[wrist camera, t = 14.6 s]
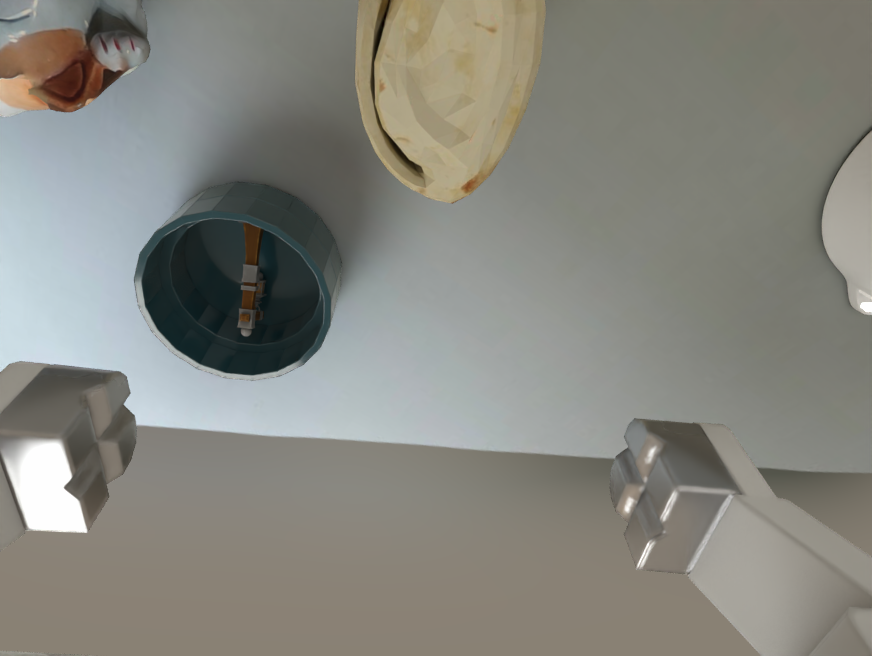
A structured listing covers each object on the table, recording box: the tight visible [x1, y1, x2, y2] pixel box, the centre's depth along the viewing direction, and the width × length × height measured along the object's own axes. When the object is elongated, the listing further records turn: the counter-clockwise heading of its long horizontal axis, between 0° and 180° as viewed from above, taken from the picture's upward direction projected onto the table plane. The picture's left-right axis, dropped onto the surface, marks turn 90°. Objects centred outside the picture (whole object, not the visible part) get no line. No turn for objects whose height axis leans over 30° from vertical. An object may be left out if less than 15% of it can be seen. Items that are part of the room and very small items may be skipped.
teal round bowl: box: [134, 182, 342, 381], centre depth 39 cm, size 12×12×6 cm
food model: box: [355, 0, 546, 203], centre depth 25 cm, size 10×7×20 cm
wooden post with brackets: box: [237, 221, 266, 336], centre depth 40 cm, size 2×8×4 cm, turn 173°
